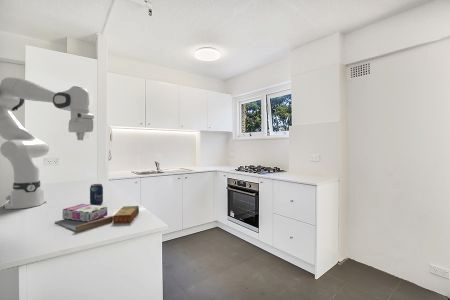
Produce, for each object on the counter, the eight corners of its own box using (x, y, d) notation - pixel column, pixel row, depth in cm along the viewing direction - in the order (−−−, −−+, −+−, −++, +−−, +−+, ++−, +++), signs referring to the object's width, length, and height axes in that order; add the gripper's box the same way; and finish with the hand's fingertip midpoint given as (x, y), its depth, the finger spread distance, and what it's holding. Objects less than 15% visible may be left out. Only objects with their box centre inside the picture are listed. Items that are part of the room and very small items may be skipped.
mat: (54, 222, 103) (54, 221, 103) (90, 213, 117) (90, 212, 117) (75, 231, 93) (75, 230, 93) (111, 220, 107) (111, 219, 107)
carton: (112, 224, 103) (112, 215, 103) (123, 213, 119) (123, 205, 119) (131, 223, 105) (131, 214, 104) (139, 212, 120) (139, 205, 120)
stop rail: (75, 231, 93) (75, 226, 93) (111, 220, 107) (111, 215, 107) (76, 232, 93) (76, 226, 92) (113, 221, 106) (113, 216, 106)
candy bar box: (62, 219, 106) (88, 222, 102) (62, 209, 106) (88, 212, 102) (82, 212, 117) (107, 215, 112) (82, 203, 117) (107, 205, 112)
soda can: (97, 205, 131) (97, 186, 131) (87, 205, 133) (87, 185, 132) (105, 202, 138) (105, 183, 138) (96, 202, 139) (96, 183, 139)
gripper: (64, 116, 127) (65, 140, 127) (83, 114, 116) (83, 140, 117) (76, 117, 132) (77, 140, 132) (95, 115, 122) (95, 140, 122)
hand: (80, 140), depth 124 cm, fingers closed
